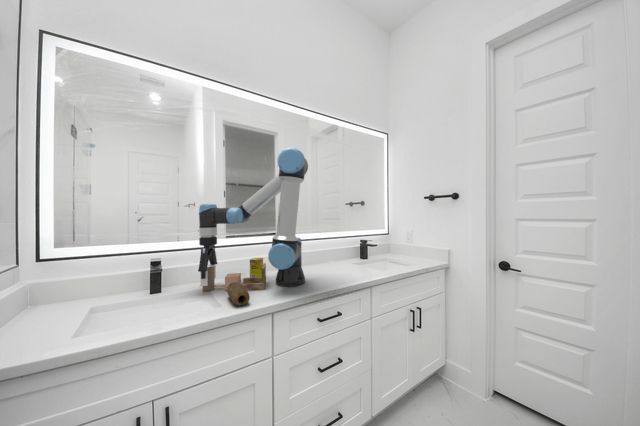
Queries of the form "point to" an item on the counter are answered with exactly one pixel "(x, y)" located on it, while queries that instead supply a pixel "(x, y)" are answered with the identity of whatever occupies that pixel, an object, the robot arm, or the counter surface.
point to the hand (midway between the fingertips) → (208, 281)
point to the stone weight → (238, 293)
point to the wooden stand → (255, 281)
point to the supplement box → (256, 267)
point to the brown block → (228, 279)
